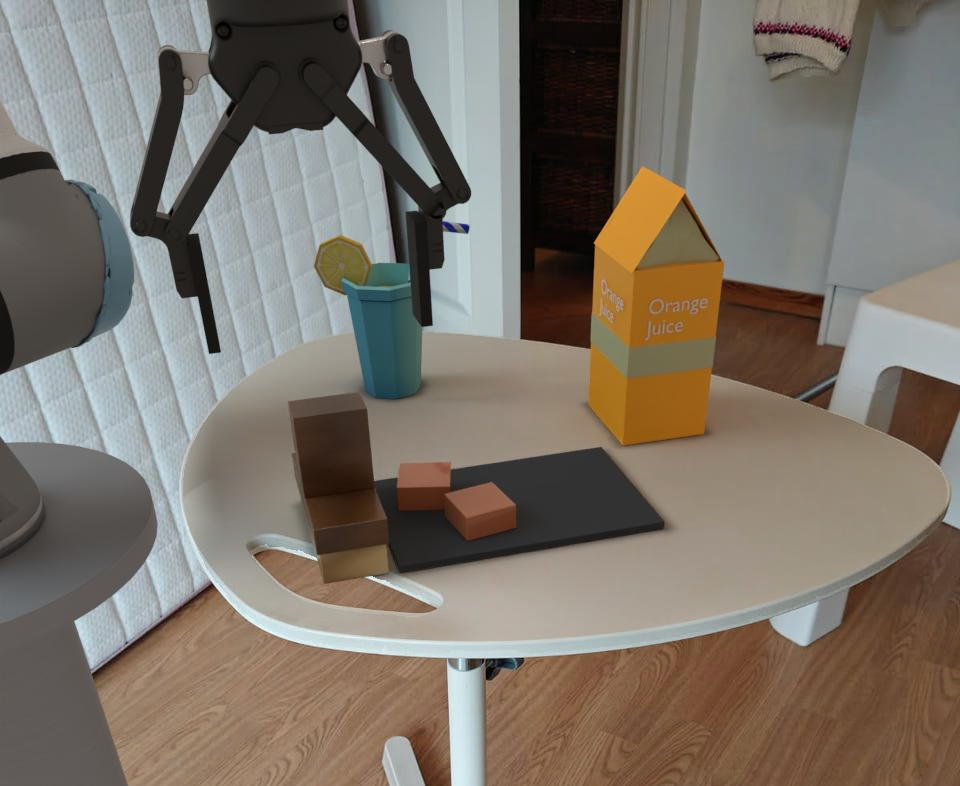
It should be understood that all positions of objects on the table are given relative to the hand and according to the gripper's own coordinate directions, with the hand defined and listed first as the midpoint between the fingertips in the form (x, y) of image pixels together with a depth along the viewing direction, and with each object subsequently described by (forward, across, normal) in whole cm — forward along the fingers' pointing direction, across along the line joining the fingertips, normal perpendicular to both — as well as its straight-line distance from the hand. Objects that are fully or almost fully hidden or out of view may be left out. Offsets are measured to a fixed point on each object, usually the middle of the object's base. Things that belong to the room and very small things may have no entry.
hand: (320, 333), depth 66 cm
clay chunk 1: (+15, +7, +3) cm, 17 cm away
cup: (+16, +10, +26) cm, 32 cm away
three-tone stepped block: (+16, 0, 0) cm, 16 cm away
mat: (+16, +13, +1) cm, 20 cm away
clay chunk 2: (+15, +10, -2) cm, 18 cm away
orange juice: (+16, +29, +12) cm, 35 cm away
